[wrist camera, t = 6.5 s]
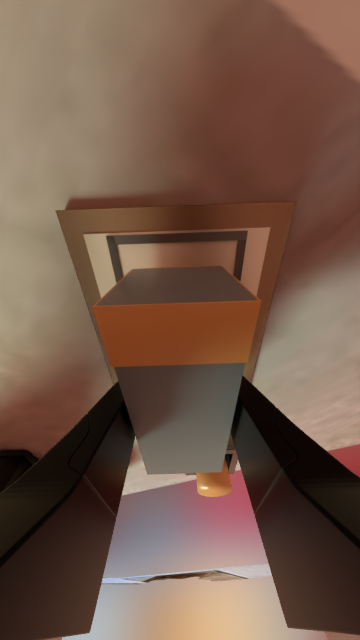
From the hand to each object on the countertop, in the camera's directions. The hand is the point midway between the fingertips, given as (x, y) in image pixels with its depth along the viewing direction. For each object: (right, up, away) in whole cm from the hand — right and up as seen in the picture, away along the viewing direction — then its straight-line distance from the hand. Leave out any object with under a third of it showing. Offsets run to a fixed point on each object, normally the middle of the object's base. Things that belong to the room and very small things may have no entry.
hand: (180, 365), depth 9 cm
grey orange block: (0, +1, +1) cm, 1 cm away
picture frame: (0, +1, +3) cm, 3 cm away
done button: (+3, -11, +7) cm, 14 cm away
